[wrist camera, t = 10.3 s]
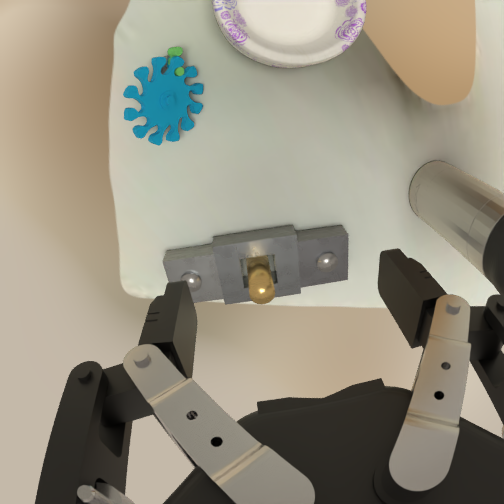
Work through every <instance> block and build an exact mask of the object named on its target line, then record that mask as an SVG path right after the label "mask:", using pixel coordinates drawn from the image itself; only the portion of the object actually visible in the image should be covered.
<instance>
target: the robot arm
mask: <svg viewBox="0 0 504 504" xmlns="http://www.w3.org/2000/svg"><path fill="white" fill-rule="evenodd" d="M409 199H410V204H411V207H412V209H413V211H414V212H415V214H416V215H417V216H419V217H420V218H421V219H422V220H423V221H425V222H426V223H427V224H428V225H429V226H430V227H431V228H433V229H434V230H435V231H436V232H437V233H438V234H440V235H441V236H442V237H443V238H444V239H445V240H446V241H448V242H449V243H450V244H451V245H452V246H453V247H454V248H455V249H456V250H458V251H459V252H460V253H461V254H462V255H463V256H464V257H465V258H466V259H467V260H468V261H469V262H470V263H471V264H473V265H474V266H475V267H476V268H477V269H478V270H479V271H480V272H481V273H482V274H483V275H484V276H485V277H486V278H487V279H488V280H489V281H490V282H491V283H492V284H493V285H494V286H495V288H496V289H497V291H498V292H499V293H500V294H501V295H492V296H490V297H489V298H488V300H487V303H486V306H470V305H469V304H468V302H467V301H466V300H465V299H463V298H461V297H459V296H456V295H448V294H447V293H446V292H445V291H444V290H443V288H442V287H441V286H440V285H439V284H438V283H437V281H436V280H435V279H434V278H433V277H432V276H431V274H430V273H429V272H427V270H426V269H425V268H424V267H423V265H422V264H421V263H419V262H417V261H416V260H414V259H412V258H407V257H406V256H405V255H404V253H403V252H402V251H401V250H400V249H398V248H397V249H391V250H385V251H382V252H381V254H380V262H379V275H378V290H379V294H380V296H381V298H382V299H383V301H384V303H385V304H386V306H387V308H388V309H389V311H390V312H391V314H392V316H393V317H394V319H395V320H396V322H397V324H398V326H399V328H400V329H401V331H402V333H403V334H404V336H405V338H406V340H407V341H408V343H409V345H410V346H411V348H415V347H419V346H422V347H423V353H422V356H421V360H420V363H419V366H418V370H417V374H416V376H415V380H414V383H413V386H412V389H411V391H410V390H407V389H404V388H399V387H390V386H384V383H383V381H382V379H381V378H380V379H376V380H372V381H368V382H364V383H359V384H355V385H352V386H349V387H347V388H345V389H343V390H341V391H339V392H336V393H334V394H332V395H330V396H327V397H325V398H292V397H288V398H281V399H275V400H267V401H260V402H257V407H258V411H256V412H253V413H251V414H249V415H247V416H245V417H243V418H241V419H240V420H238V421H237V422H236V421H235V420H233V418H231V417H230V416H229V415H228V414H227V413H226V412H225V411H224V410H223V409H222V408H221V407H220V406H219V405H218V404H217V403H216V402H215V401H214V400H213V399H212V398H211V397H210V396H209V395H208V394H207V393H206V392H205V391H204V390H203V389H202V388H201V387H200V386H199V385H198V384H197V383H196V382H195V381H194V380H193V379H192V373H193V362H194V351H195V342H196V331H197V315H196V310H195V307H194V303H193V300H192V296H191V293H190V290H189V286H188V283H187V281H186V280H184V281H176V282H169V283H167V286H166V290H165V294H164V295H163V296H157V297H156V298H155V300H154V301H153V302H152V303H151V304H150V307H149V310H148V313H147V314H148V315H147V317H146V320H145V321H146V322H145V323H144V327H143V330H142V333H141V337H140V340H139V344H138V346H137V347H135V348H133V349H132V350H130V351H129V352H128V353H127V354H126V356H125V357H124V360H123V363H122V364H119V365H116V366H113V367H110V368H106V369H102V367H101V366H100V364H98V363H97V362H94V361H87V362H83V363H81V364H79V365H77V366H76V367H75V368H74V369H73V370H72V371H71V373H70V375H69V377H68V380H67V383H66V386H65V389H64V392H63V395H62V398H61V401H60V405H59V408H58V411H57V414H56V418H55V421H54V425H53V428H52V432H51V435H50V439H49V443H48V447H47V451H46V455H45V459H44V463H43V467H42V472H41V476H40V481H39V485H38V490H37V495H36V501H35V504H134V503H133V501H132V500H130V499H129V498H128V497H126V496H125V486H126V475H127V465H128V455H129V446H130V436H131V429H132V421H133V420H136V419H139V418H143V417H146V416H150V415H154V417H155V418H156V419H157V421H158V422H159V423H160V425H161V426H162V427H163V429H164V430H165V431H166V432H167V434H168V435H169V436H170V438H171V439H172V440H173V441H174V443H175V444H176V445H177V446H178V448H179V449H180V450H181V452H182V453H183V454H184V456H185V457H186V458H187V459H188V460H189V462H190V463H191V464H192V465H193V466H194V468H195V469H194V470H193V471H192V472H191V473H190V474H189V476H188V477H187V478H186V479H185V480H184V481H183V482H182V483H181V485H180V486H179V487H178V488H177V489H176V490H175V491H174V492H173V493H172V494H171V496H170V497H169V498H168V499H167V500H166V501H165V502H164V503H163V504H504V354H503V353H502V351H501V348H502V346H503V345H504V193H502V192H501V191H499V190H497V189H495V188H494V187H492V186H490V185H488V184H486V183H484V182H483V181H481V180H479V179H477V178H475V177H473V176H471V175H469V174H467V173H465V172H463V171H462V170H460V169H458V168H456V167H453V166H451V165H449V164H447V163H445V162H442V161H433V162H429V163H427V164H425V165H424V166H423V167H422V168H420V169H419V170H418V172H417V173H416V174H415V176H414V178H413V180H412V183H411V186H410V192H409ZM469 361H470V362H471V364H472V366H473V367H474V369H475V371H476V373H477V375H478V376H479V378H480V380H481V382H482V384H483V386H484V387H485V389H486V391H487V393H488V395H489V397H490V399H491V401H492V403H493V404H494V407H495V409H496V411H497V413H498V414H499V417H500V418H501V421H502V423H503V428H502V437H503V438H501V437H499V436H497V435H495V434H493V433H491V432H489V431H487V430H485V429H483V428H481V427H479V426H477V425H475V424H473V423H471V422H469V421H468V420H466V419H464V418H462V417H460V414H461V409H462V404H463V398H464V392H465V386H466V381H467V374H468V367H469Z"/></svg>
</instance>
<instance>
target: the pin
mask: <svg viewBox="0 0 504 504" xmlns="http://www.w3.org/2000/svg"><path fill="white" fill-rule="evenodd" d="M246 262H247V273H248V284H249V295H250V298H251V300H252V301H253V302H255V303H257V304H266V303H269V302H270V301H271V300H272V299H273V298H274V296H275V289H274V284H273V279H272V275H271V270H270V265H269V260H268V256H267V255H265V256H258V257H251V258H247V259H246Z"/></svg>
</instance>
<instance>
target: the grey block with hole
mask: <svg viewBox="0 0 504 504" xmlns="http://www.w3.org/2000/svg"><path fill="white" fill-rule="evenodd" d="M272 254H273V258H274V266H275V272H271V275H272V279H273V284H274V289H275V296H274V297H281V296H287V295H294V294H300V293H301V289H300V287H306V286H313V285H319V284H325V283H331V282H337V281H342V280H348V233H347V232H346V231H345V229H344V228H343V226H342V225H337V226H330V227H323V228H316V229H309V230H302V231H295V230H294V227H293V225H288V226H281V227H275V228H268V229H261V230H254V231H247V232H241V233H234V234H227V235H221V236H214V237H213V244H207V245H201V246H194V247H188V248H181V249H175V250H168V251H166V254H165V256H164V259H163V265H164V268H165V271H166V274H167V278H168V281H169V282H176V281H184V280H186V281H187V283H188V286H189V290H190V293H191V296H192V300H193V303H195V302H203V301H211V300H218V299H224V302H225V304H233V303H240V302H247V301H252V300H251V298H250V295H249V284H248V276H243V271H242V265H241V259H245V258H251V257H258V256H265V255H272Z"/></svg>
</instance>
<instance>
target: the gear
mask: <svg viewBox="0 0 504 504" xmlns="http://www.w3.org/2000/svg"><path fill="white" fill-rule="evenodd" d="M182 52H183V50H182V48H181V47H172V48H169V49H168V55H167V56H165V57H155V58H152V65H153V76H152V79H151V81H150V82H149V81H148V79H147V77H148V74H149V69H148V67H140V68H138V69H137V70H135V71H134V76H135V77H136V78H138V79H139V80H140V82H141V84H142V87H143V93H142V94H141V95H139V93H138V89H137V87H136V86H128V87H127V88H126V89H125V91H124V94H123V95H124V97H126V98H133V99H136V100H137V101H138V102H139V103H140V104H141V110H140V111H139V112H138V111H137V110H136V109H134V108H126V109H125V111H124V119H125V120H129V121H132V120H134V119H136V118H138V117H141V116H144V117H146V118H147V123H146V124H145V125H144V126H140V125H137V126H135V127H134V128H133V132H134V134H135V136H136V137H137V138H143V137H145V135H146V133H147V132H148V130H149V129H151V128H152V127H154V126H156V125H157V126H158V130H157V131H156V132H155V133H153V134H151V135H150V136H149V138H148V141H149V142H151V143H153V144H156V145H160V144H161V143H162V138H163V134H164V131H165V130H166V128H167V127H168V126H169V125H170V126H171V129H170V131H169V132H168V133H167V135H166V140H168V141H172V142H175V141H179V138H180V136H179V133H178V123H179V120H180V118H181V117H182V123H181V129H182V130H185V131H189V130H190V129H192V128H193V127H194V122H193V121H192V120H190V118H189V117H188V114H187V106H188V105H189V107H190V111H191V112H192V113H196V114H199V113H200V111H201V109H202V107H203V105H202V104H201V103H196V102H194V101H192V100H191V98H190V97H189V91H190V90H191V92H192V93H193V94H202V92H203V84H200V83H195V84H193V85H191V86H188V85H186V84H185V83H184V80H185V78H186V77H196V76H197V71H196V68H195V67H194V66H188V67H186V68H185V70H184V69H183V68H182V67H181V66H183V64H184V60H183V59H182V58H180V57H179V56H180V55H181V54H182Z"/></svg>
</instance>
